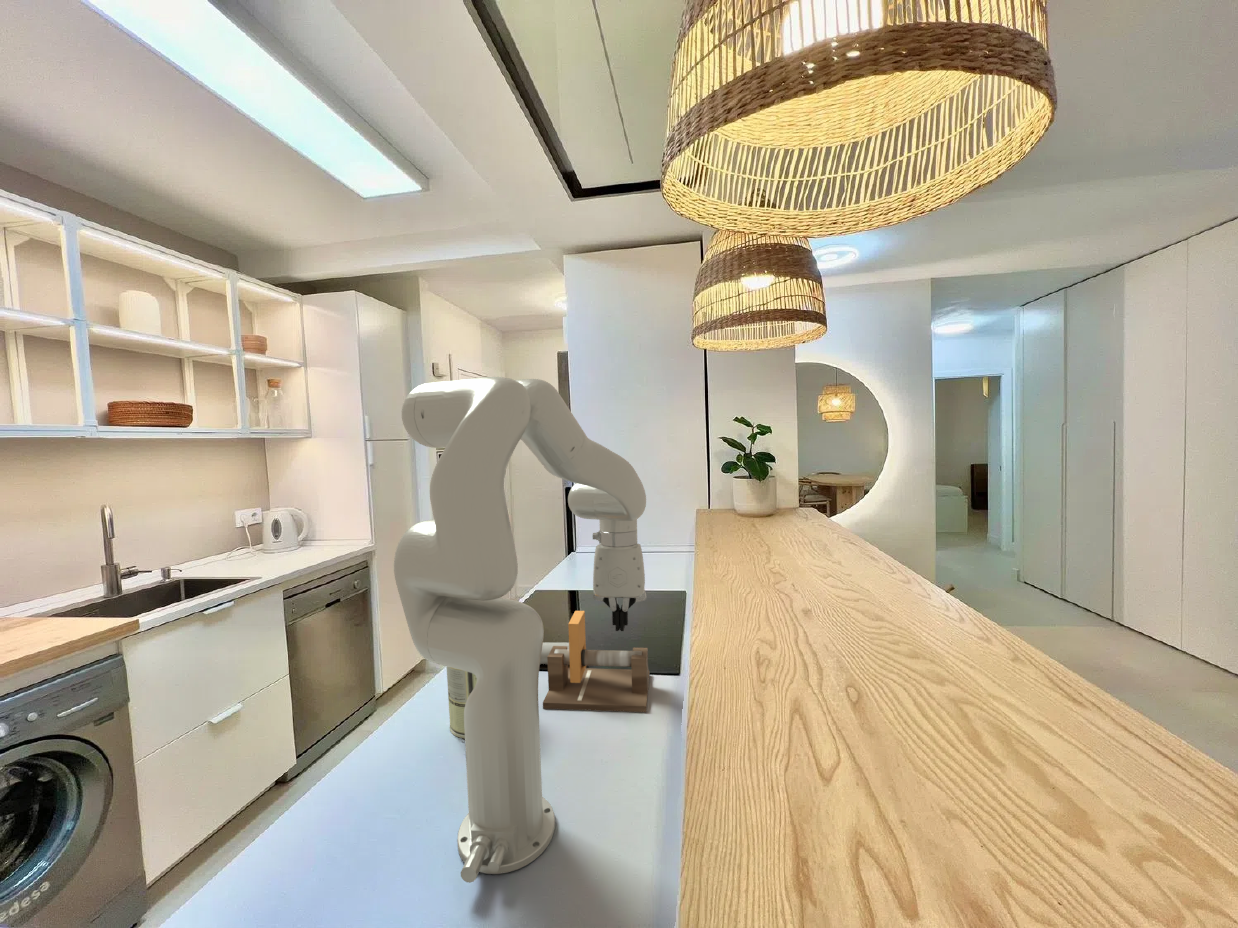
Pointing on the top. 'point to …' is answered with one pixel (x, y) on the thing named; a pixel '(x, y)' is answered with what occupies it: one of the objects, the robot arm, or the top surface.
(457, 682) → the coffee can
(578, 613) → the orange flat block
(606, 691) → the pipe stand
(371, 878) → the top surface
